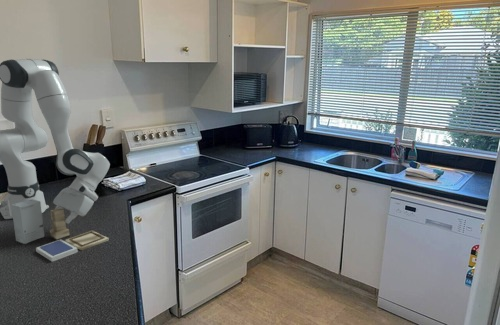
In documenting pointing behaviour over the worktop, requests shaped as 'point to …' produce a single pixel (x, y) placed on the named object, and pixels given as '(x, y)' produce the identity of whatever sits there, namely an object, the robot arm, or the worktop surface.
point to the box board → (86, 240)
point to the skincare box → (27, 221)
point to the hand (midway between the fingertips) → (59, 219)
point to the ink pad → (56, 250)
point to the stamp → (58, 225)
